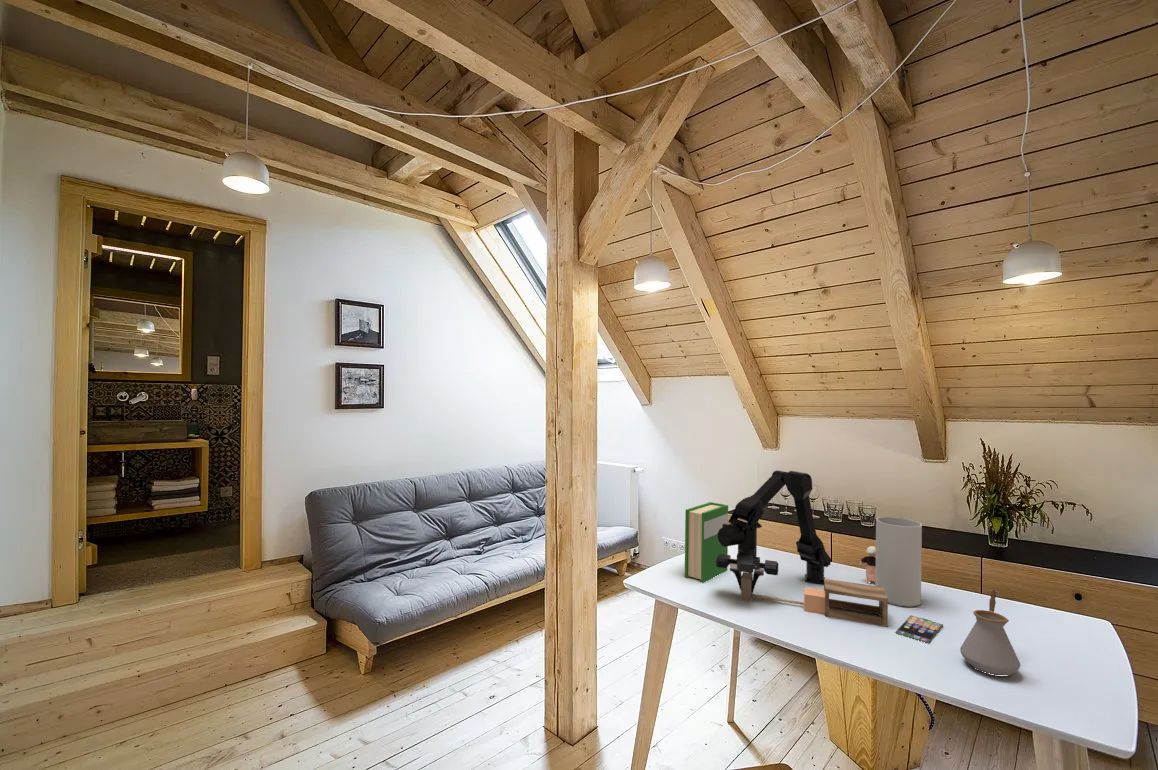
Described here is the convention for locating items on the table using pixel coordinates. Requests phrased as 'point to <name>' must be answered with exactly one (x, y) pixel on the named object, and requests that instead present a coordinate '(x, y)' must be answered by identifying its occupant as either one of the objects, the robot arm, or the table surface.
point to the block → (812, 599)
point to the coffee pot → (990, 643)
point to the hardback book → (704, 540)
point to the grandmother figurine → (870, 564)
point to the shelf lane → (858, 592)
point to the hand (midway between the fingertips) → (746, 590)
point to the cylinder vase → (899, 560)
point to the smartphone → (919, 629)
